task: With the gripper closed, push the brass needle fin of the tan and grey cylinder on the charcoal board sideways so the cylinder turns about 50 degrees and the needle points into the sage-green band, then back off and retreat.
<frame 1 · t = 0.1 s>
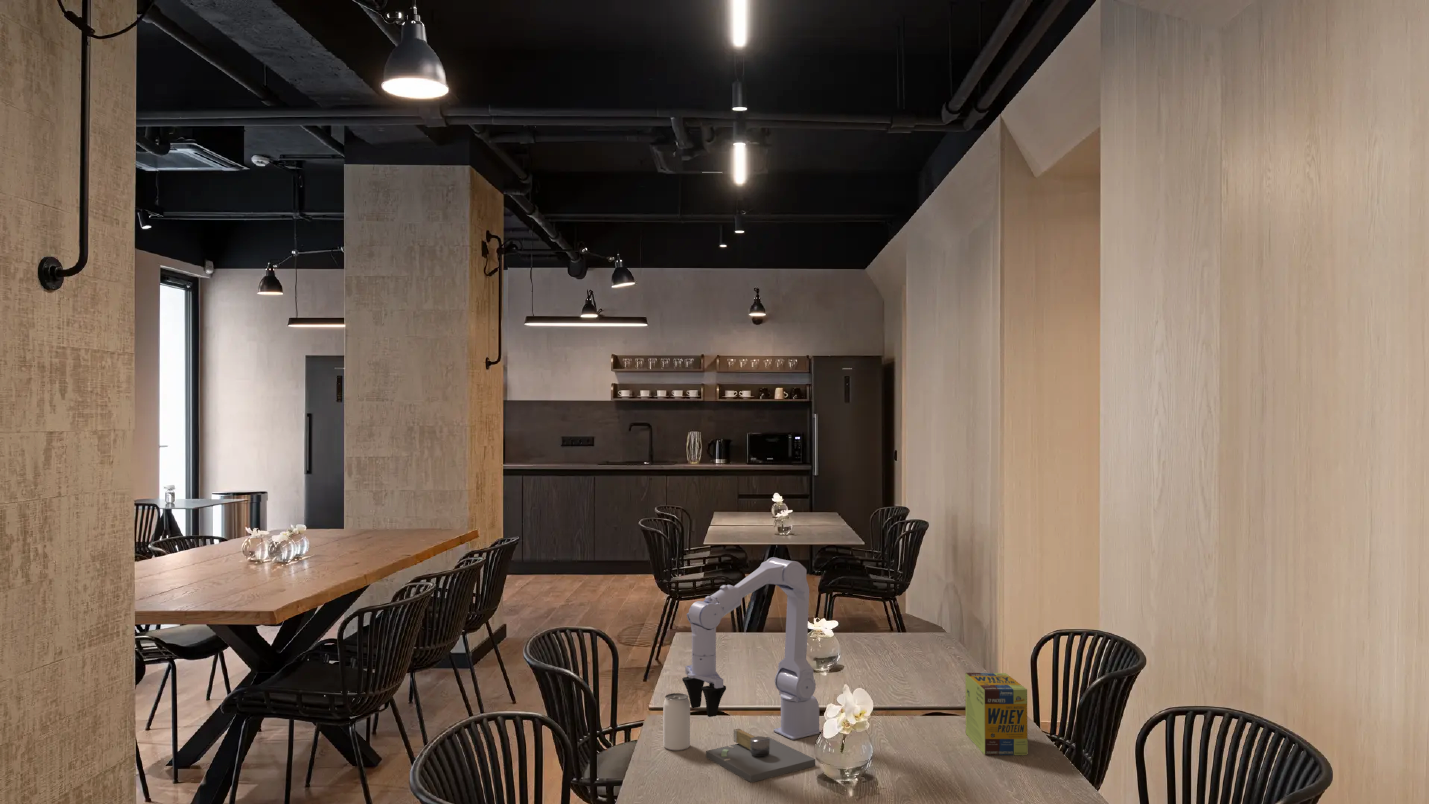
hand: (703, 711, 214), 10 cm above the table, tool pointing down, fingers open, 7 cm apart
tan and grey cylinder: (750, 741, 212), point 3 cm above the table, hinge at 0.0°
protein box: (995, 745, 221), on the table
dial board: (759, 761, 209), on the table
can: (676, 747, 219), on the table
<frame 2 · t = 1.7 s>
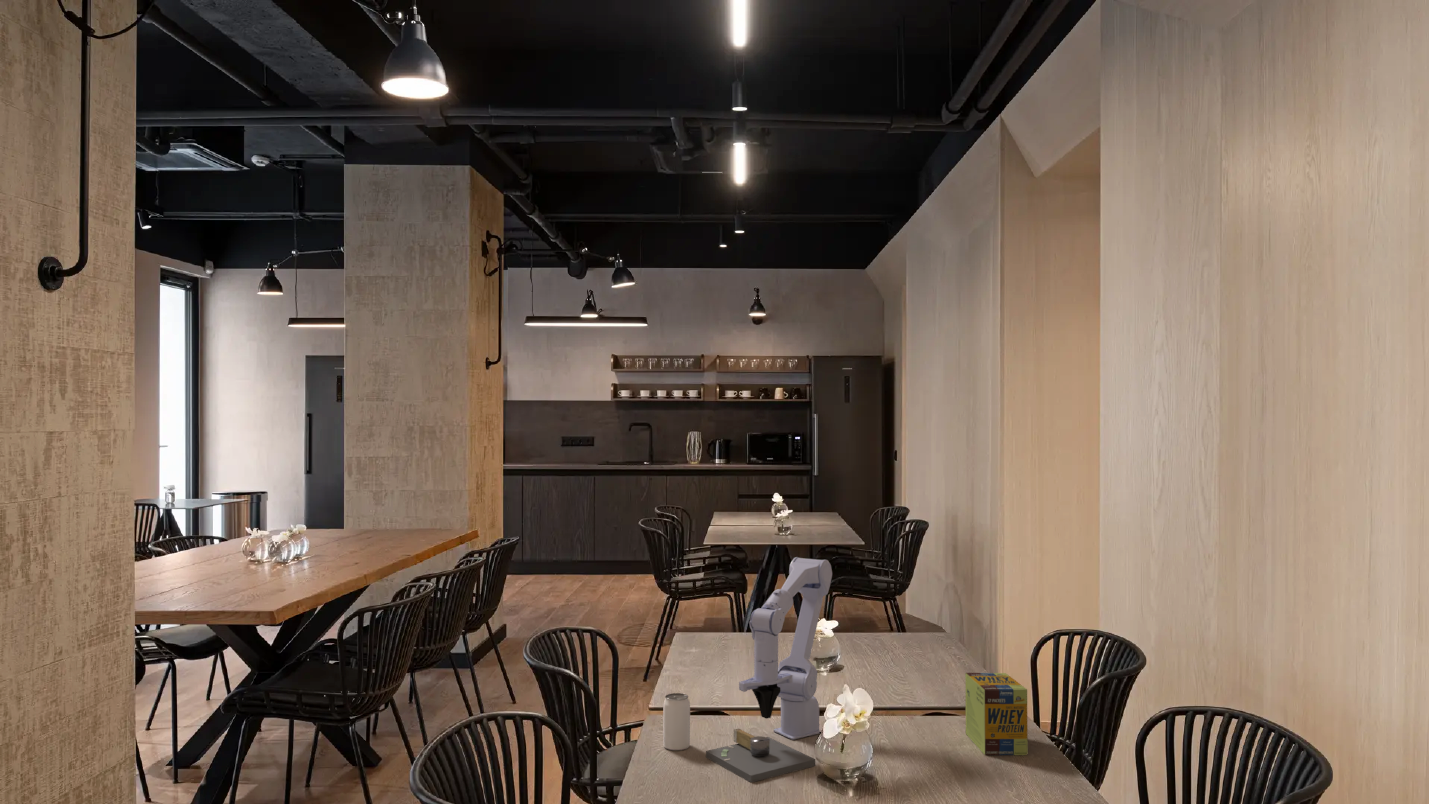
hand: (766, 717, 216), 8 cm above the table, tool pointing down, fingers closed
nothing on the table moved.
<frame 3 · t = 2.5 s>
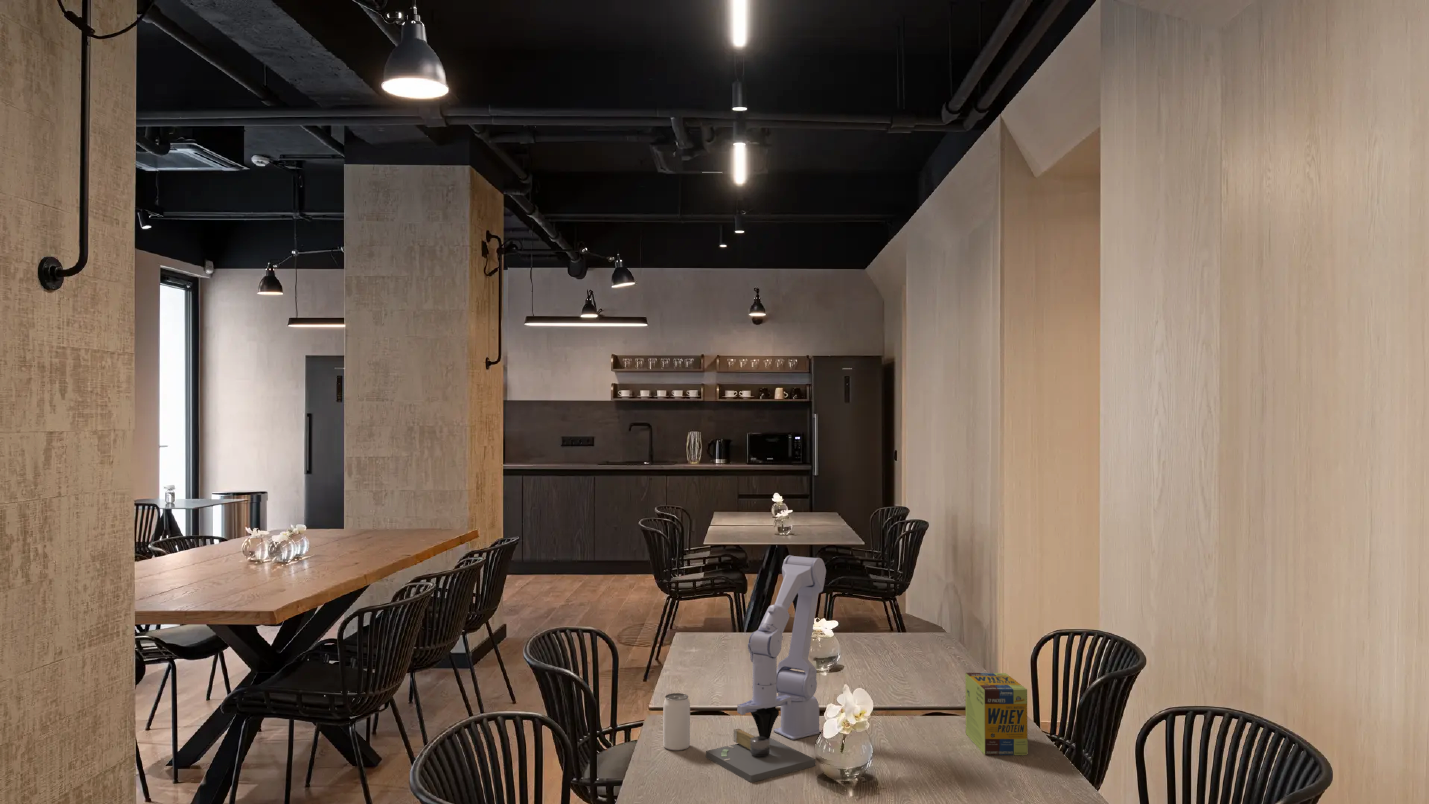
hand: (764, 739, 216), 3 cm above the table, tool pointing down, fingers closed
nothing on the table moved.
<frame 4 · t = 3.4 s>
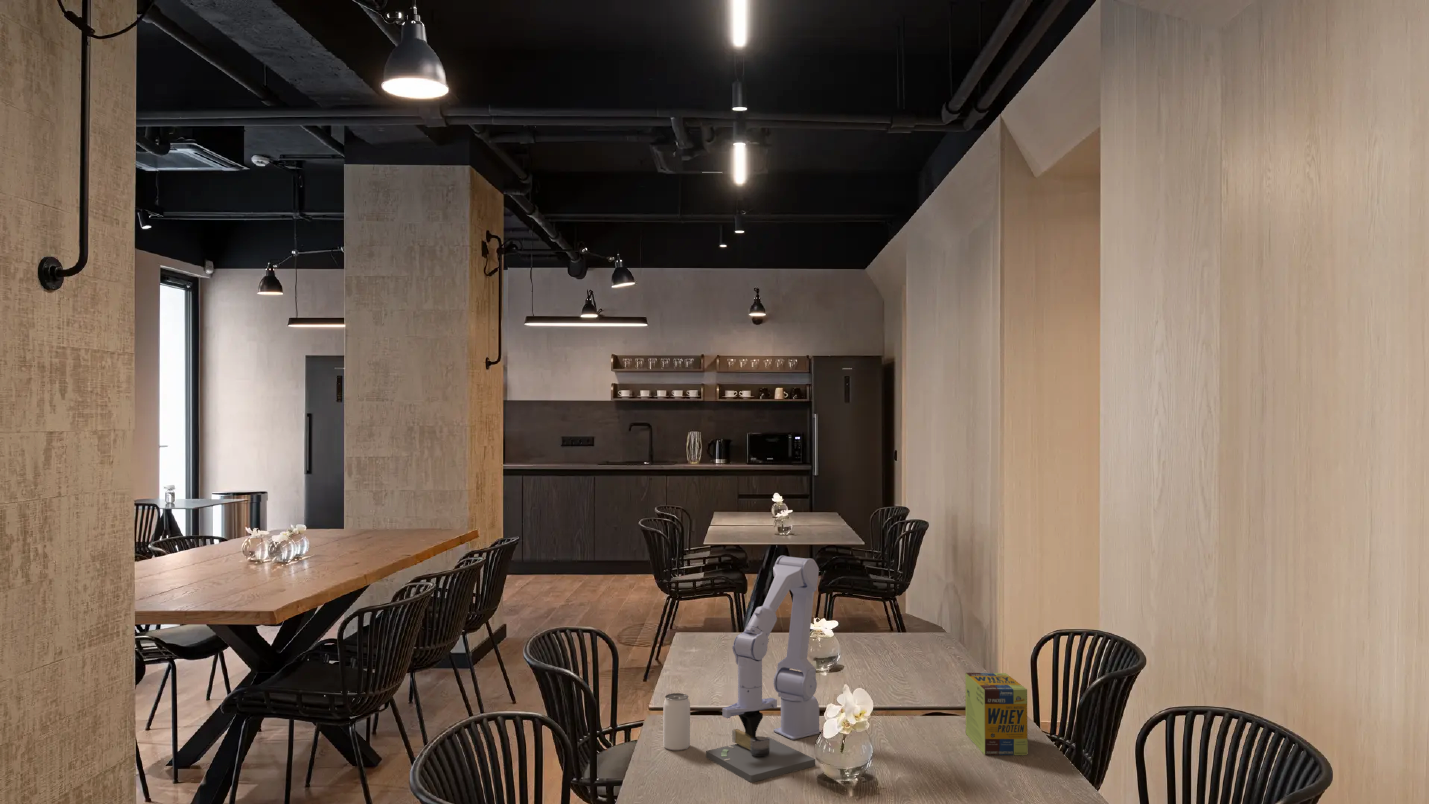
hand: (750, 743, 214), 3 cm above the table, tool pointing down, fingers closed, pressing on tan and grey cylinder
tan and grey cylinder: (750, 741, 212), point 3 cm above the table, hinge at 2.6°, touching gripper
everything else where it was.
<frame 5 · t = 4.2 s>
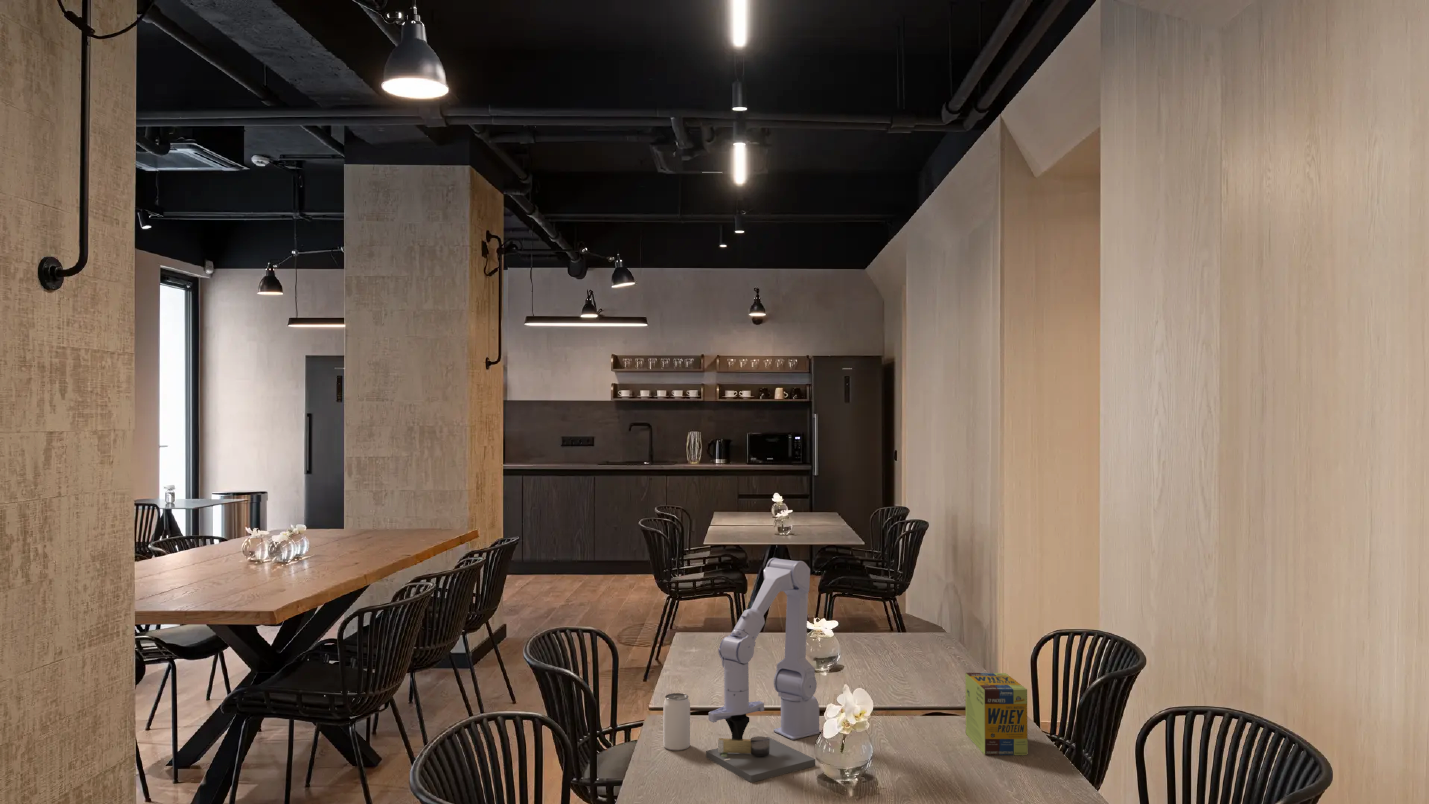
hand: (737, 747, 212), 2 cm above the table, tool pointing down, fingers closed, pressing on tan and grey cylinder
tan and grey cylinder: (743, 745, 209), point 3 cm above the table, hinge at 51.6°, touching gripper
everything else where it was.
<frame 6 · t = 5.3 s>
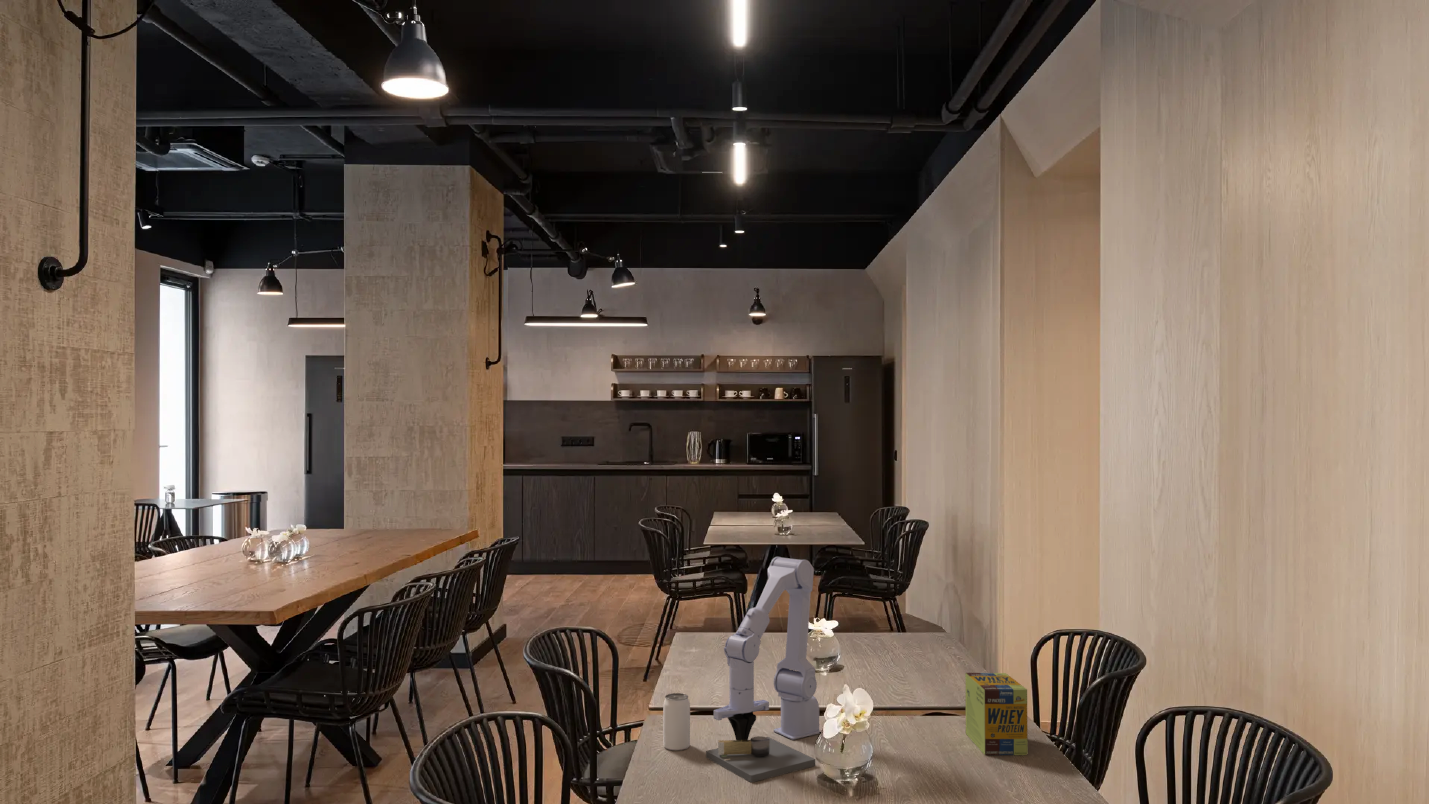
hand: (741, 745, 212), 3 cm above the table, tool pointing down, fingers closed
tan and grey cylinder: (744, 746, 209), point 3 cm above the table, hinge at 60.9°
everything else where it was.
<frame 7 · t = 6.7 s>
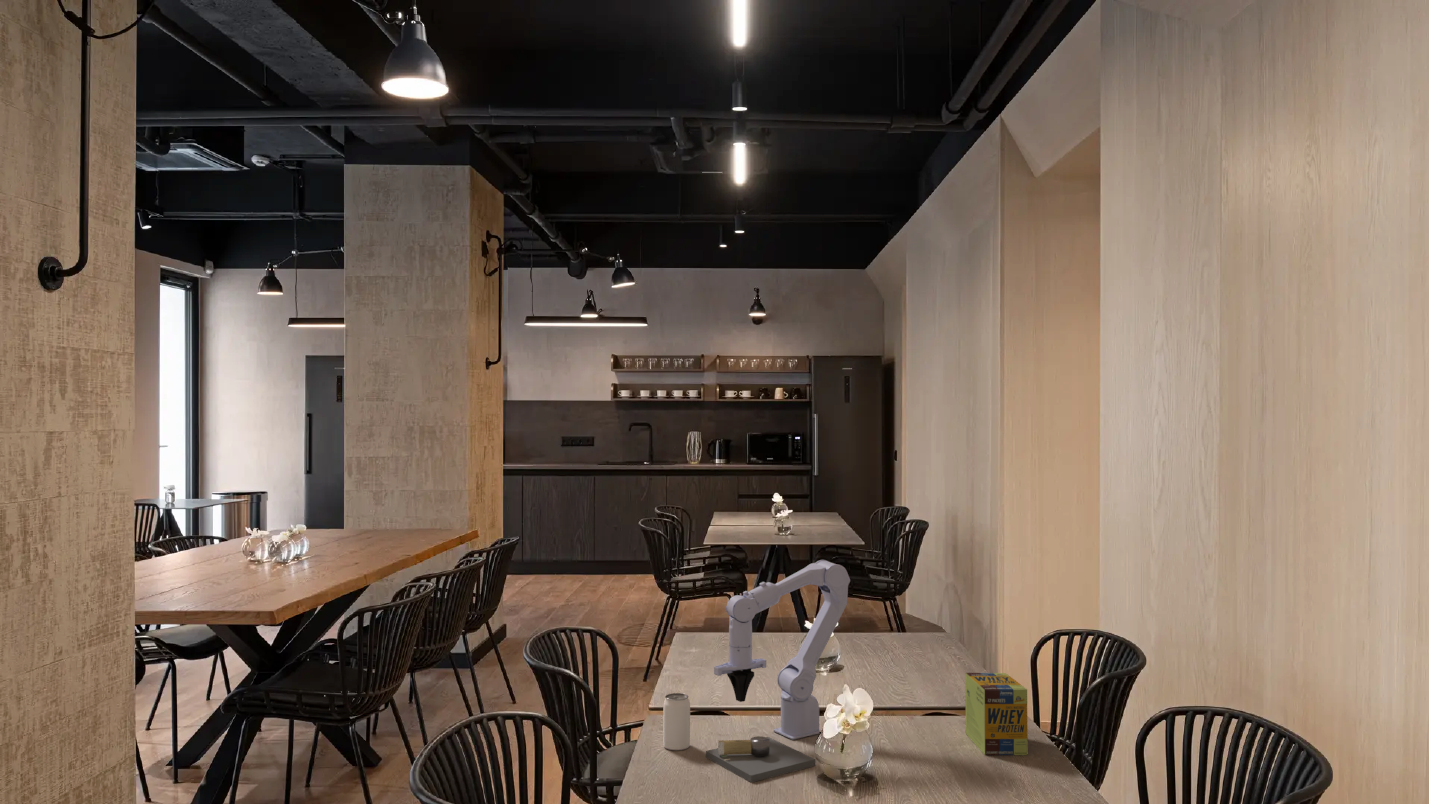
hand: (740, 700, 224), 9 cm above the table, tool pointing down, fingers closed
nothing on the table moved.
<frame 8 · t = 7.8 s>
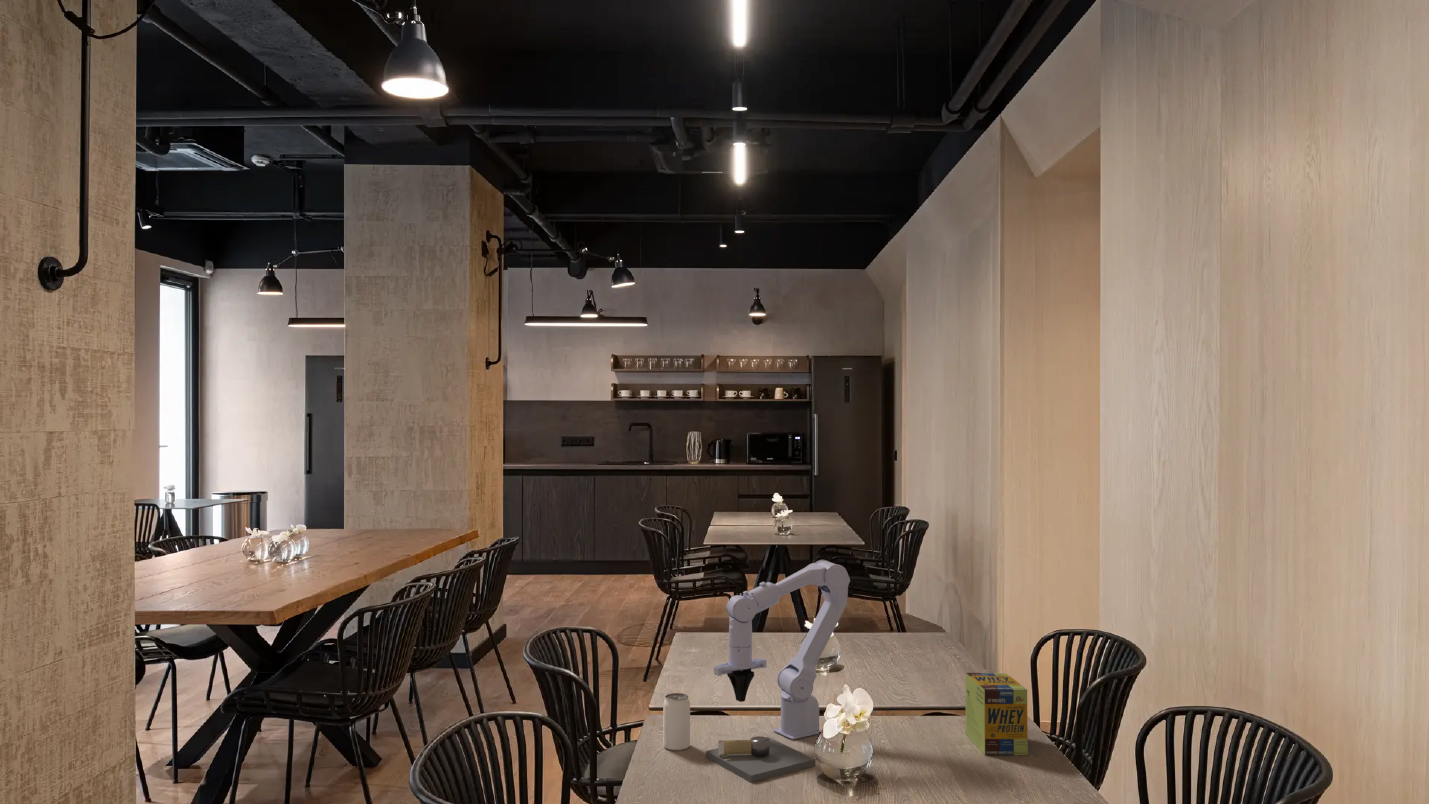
hand: (740, 700, 224), 9 cm above the table, tool pointing down, fingers closed
nothing on the table moved.
at the end: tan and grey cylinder at +61° (first picture: +0°); can moved 0.2 cm from its start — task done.
